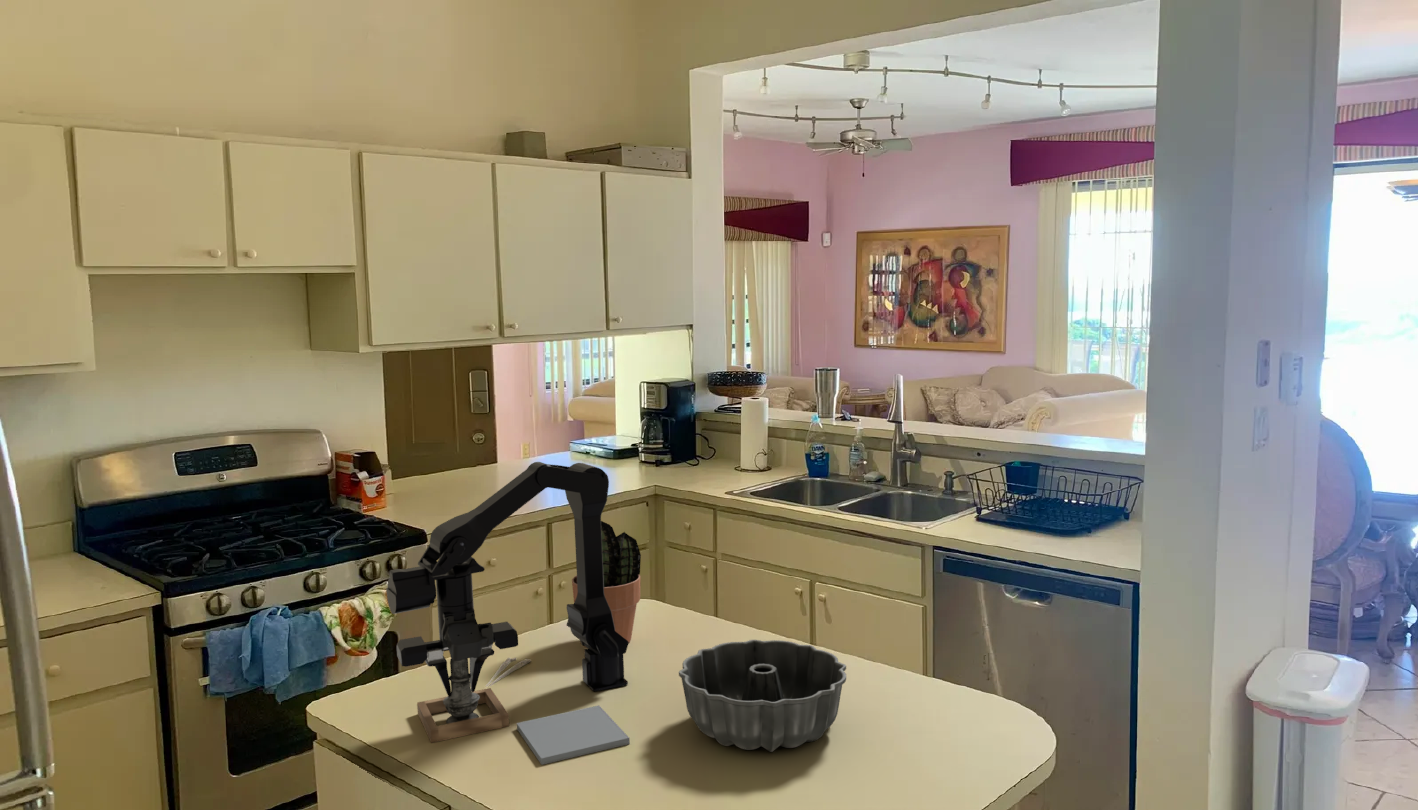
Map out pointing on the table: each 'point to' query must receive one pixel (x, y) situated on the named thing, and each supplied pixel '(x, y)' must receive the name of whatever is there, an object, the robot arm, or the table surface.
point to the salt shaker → (460, 693)
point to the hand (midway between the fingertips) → (460, 693)
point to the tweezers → (508, 669)
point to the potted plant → (619, 578)
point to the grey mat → (571, 734)
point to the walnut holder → (467, 726)
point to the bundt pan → (763, 692)
